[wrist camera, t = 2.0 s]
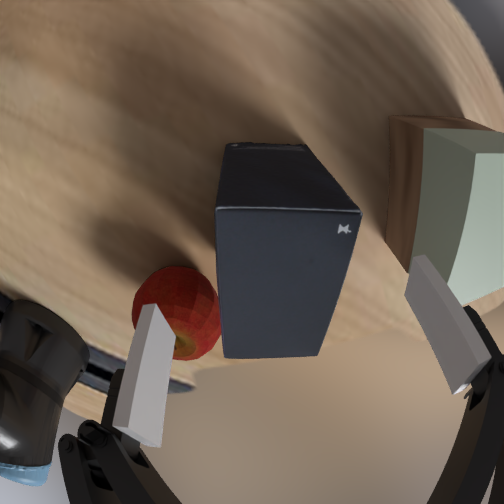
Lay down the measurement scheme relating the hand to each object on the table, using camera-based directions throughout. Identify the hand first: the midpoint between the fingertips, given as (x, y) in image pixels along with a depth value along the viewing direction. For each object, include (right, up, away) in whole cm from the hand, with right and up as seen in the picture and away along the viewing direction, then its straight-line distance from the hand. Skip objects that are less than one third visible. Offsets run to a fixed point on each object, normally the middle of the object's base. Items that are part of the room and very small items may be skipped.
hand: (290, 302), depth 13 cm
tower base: (+14, +9, +8) cm, 19 cm away
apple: (-8, 0, +13) cm, 15 cm away
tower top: (+15, +6, +4) cm, 16 cm away
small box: (-1, +6, +9) cm, 11 cm away
